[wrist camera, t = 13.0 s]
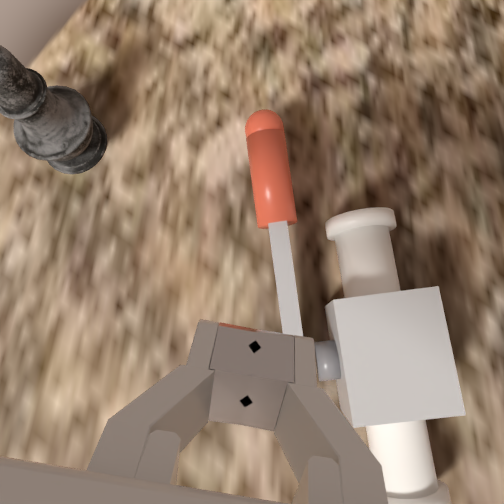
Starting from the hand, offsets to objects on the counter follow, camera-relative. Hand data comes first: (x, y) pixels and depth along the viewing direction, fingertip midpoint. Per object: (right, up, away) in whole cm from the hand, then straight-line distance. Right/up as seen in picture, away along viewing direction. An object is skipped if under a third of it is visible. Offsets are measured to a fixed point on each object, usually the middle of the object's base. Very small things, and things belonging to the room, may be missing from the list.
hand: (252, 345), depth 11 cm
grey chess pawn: (-14, +11, +24) cm, 30 cm away
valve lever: (+3, -6, +16) cm, 17 cm away
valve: (+9, -4, +19) cm, 21 cm away
